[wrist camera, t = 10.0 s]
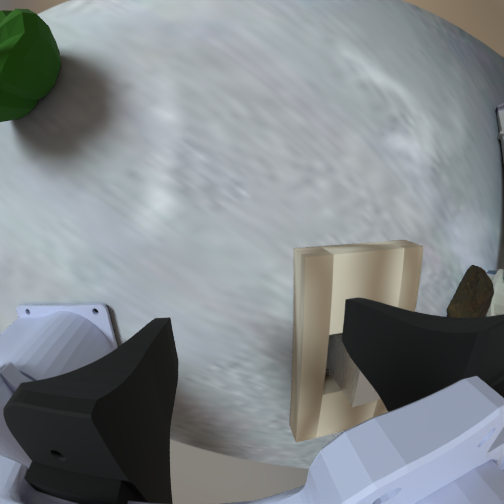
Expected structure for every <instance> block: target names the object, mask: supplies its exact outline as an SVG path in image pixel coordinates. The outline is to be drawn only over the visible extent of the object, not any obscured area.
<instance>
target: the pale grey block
mask: <svg viewBox="0 0 504 504" xmlns="http://www.w3.org/2000/svg"><path fill="white" fill-rule="evenodd" d="M326 367H327V369H328V370H329V372H330V373H331V375H332V376H333V378H334V380H335V381H336V383H337V384H338V386H339V387H340V389H341V391H342V392H343V394H344V395H345V397H346V398H347V400H348V401H349V403H350V405H351V406H352V407H356V406H359V405H362V404H366V403H369V402H372V401H375V400H378V399H381V398H380V397H379V395H378V394H377V392H376V391H375V389H374V388H373V387H372V385H371V384H370V383H369V381H368V380H367V379H366V378H365V376H364V375H363V374H362V372H361V371H360V370H359V368H358V367H357V366H356V364H355V363H354V362H353V360H352V359H351V358H350V356H349V354H348V352H347V350H346V348H345V346H344V344H343V342H342V333H338V334H332V335H329V342H328V352H327V362H326Z"/></svg>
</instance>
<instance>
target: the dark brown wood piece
mask: <svg viewBox="0 0 504 504" xmlns="http://www.w3.org/2000/svg"><path fill="white" fill-rule="evenodd" d="M493 295H494V288H493V283H492V281H491V279H490V277H489V276H488V275H487V273H486V272H485V270H483V269H482V268H480V267H478V266H475V265H472V266H471V267H470V268H469V269H468V270H467V272H466V274H465V275H464V277H463V279H462V281H461V282H460V284H459V287H458V289H457V291H456V293H455V295H454V297H453V299H452V300H451V302H450V304H449V306H448V308H447V313H448V317H455V318H477V317H485V316H486V314H487V312H488V309H489V308H490V306H491V302H492V298H493Z"/></svg>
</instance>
